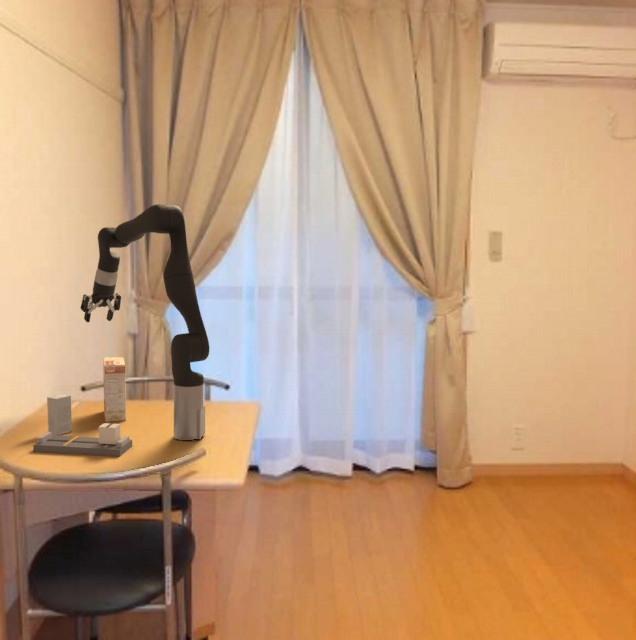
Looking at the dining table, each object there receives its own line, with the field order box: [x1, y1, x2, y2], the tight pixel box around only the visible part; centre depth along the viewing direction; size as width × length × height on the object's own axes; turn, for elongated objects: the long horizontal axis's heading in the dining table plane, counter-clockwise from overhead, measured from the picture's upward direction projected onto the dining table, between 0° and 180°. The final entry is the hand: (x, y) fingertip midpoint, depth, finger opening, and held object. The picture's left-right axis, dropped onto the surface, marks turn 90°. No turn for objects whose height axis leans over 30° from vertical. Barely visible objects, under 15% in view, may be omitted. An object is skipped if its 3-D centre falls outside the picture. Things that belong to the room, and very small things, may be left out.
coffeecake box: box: [102, 356, 127, 423], centre depth 245 cm, size 15×7×20 cm, turn 18°
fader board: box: [32, 431, 133, 457], centre depth 209 cm, size 26×10×4 cm, turn 85°
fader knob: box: [98, 422, 122, 444], centre depth 208 cm, size 5×4×5 cm
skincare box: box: [46, 393, 73, 436], centre depth 224 cm, size 6×4×12 cm
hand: (98, 320), depth 258 cm, fingers open, 8 cm apart
